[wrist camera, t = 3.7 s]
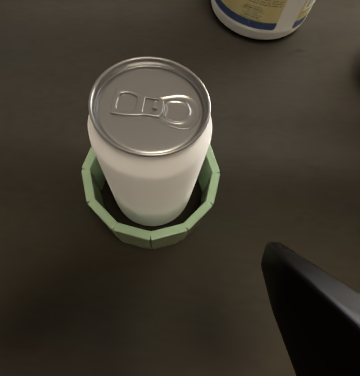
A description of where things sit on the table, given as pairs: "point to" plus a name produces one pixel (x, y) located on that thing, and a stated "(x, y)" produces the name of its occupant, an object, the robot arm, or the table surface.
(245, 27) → the supplement tub
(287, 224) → the table surface
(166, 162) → the can
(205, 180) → the segmented ring
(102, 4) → the table surface
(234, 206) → the table surface
